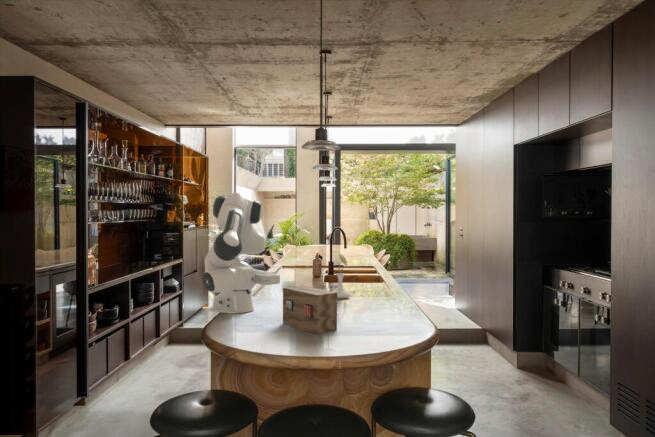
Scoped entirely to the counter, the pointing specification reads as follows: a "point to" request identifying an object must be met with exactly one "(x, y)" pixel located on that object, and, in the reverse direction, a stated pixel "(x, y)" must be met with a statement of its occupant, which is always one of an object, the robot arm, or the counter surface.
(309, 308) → the plunger right
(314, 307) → the button panel
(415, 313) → the counter surface
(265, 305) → the counter surface
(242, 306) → the robot arm
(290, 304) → the plunger left
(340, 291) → the flower in vase
